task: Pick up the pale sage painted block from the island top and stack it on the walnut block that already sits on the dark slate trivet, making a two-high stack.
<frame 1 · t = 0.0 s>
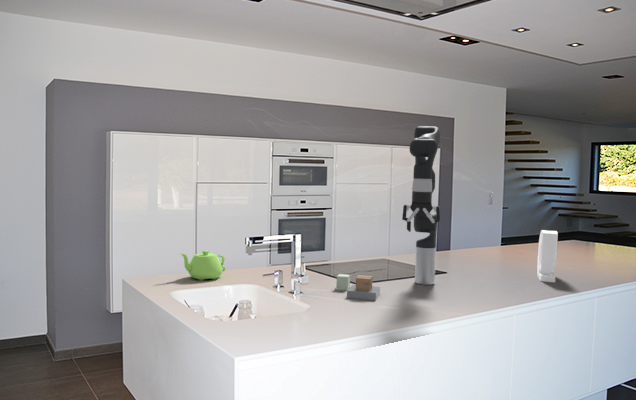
hand: (420, 232, 204), 29 cm above the counter, fingers open, 8 cm apart
walnut block: (363, 288, 221), point 3 cm above the counter, touching slate trivet
slate trivet: (363, 295, 221), on the counter
teapot: (202, 278, 247), on the counter
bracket: (545, 278, 269), on the counter
sage block: (343, 288, 233), on the counter
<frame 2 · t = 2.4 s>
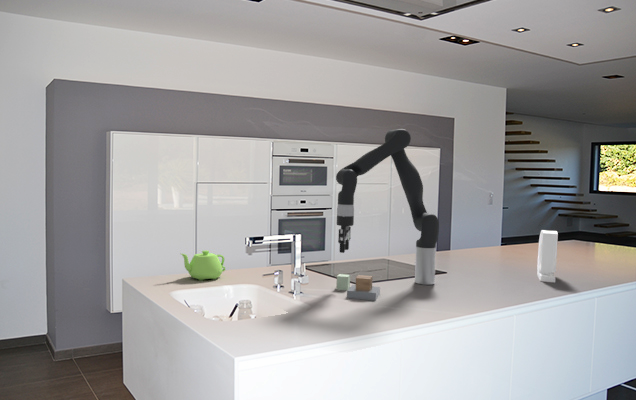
hand: (344, 251, 232), 17 cm above the counter, fingers open, 8 cm apart
nothing on the counter moved.
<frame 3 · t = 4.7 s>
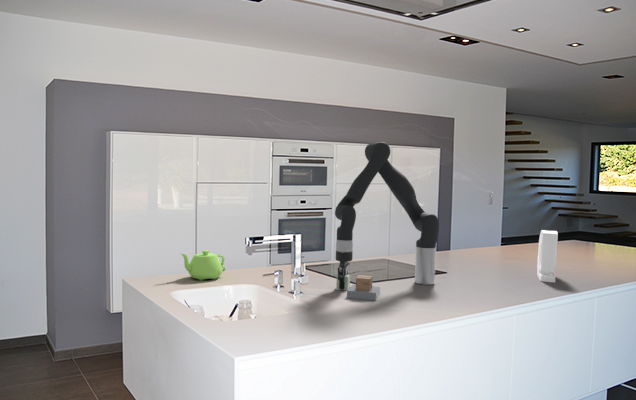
hand: (343, 287, 233), 0 cm above the counter, fingers closed on sage block, 5 cm apart
sage block: (343, 288, 233), on the counter, touching gripper
everything else where it was.
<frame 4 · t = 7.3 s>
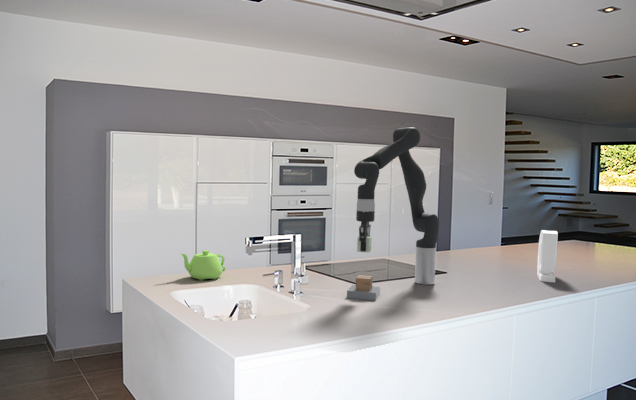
hand: (364, 250, 220), 19 cm above the counter, fingers closed on sage block, 5 cm apart
sage block: (364, 251, 220), point 19 cm above the counter, touching gripper
everything else where it was.
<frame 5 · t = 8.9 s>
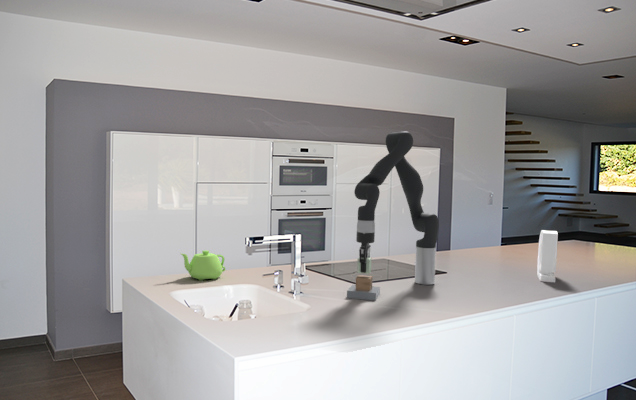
hand: (364, 271, 220), 11 cm above the counter, fingers closed on sage block, 5 cm apart
sage block: (364, 272, 220), point 10 cm above the counter, touching gripper
everything else where it was.
when the fingers open (10 cm above the counter, at t = 9.9 s): sage block drops 1 cm, resting on walnut block.
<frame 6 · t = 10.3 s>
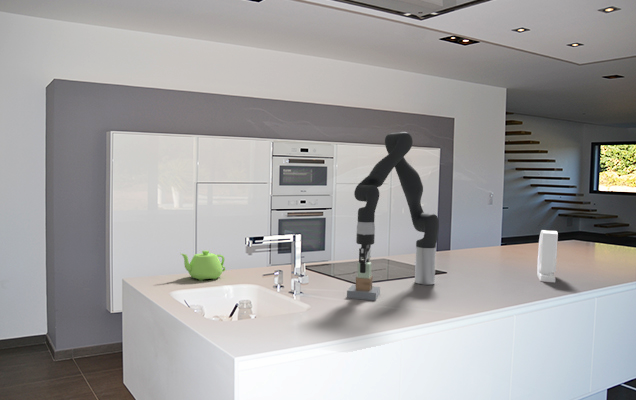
hand: (364, 271, 220), 11 cm above the counter, fingers open, 8 cm apart
walnut block: (363, 288, 221), point 3 cm above the counter, touching sage block, slate trivet
sage block: (364, 277, 220), point 8 cm above the counter, touching walnut block
everything else where it was.
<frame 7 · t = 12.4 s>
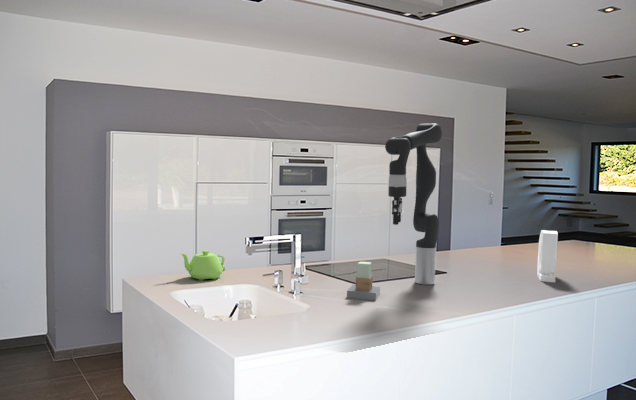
hand: (396, 223, 224), 31 cm above the counter, fingers open, 8 cm apart
nothing on the counter moved.
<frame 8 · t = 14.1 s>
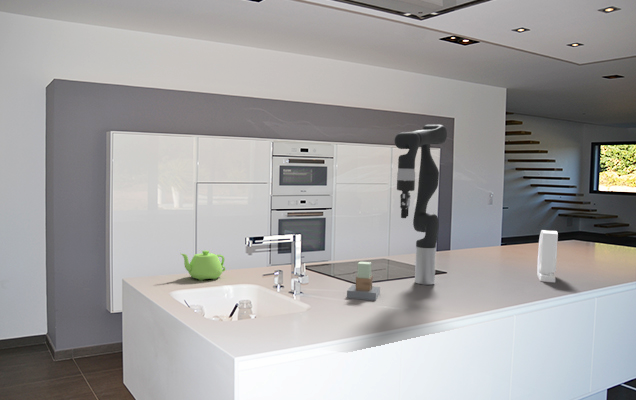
hand: (404, 217, 225), 33 cm above the counter, fingers open, 8 cm apart
nothing on the counter moved.
at the end: sage block 0.1 cm off-centre on the walnut block, point 5.0 cm above the walnut block's base; sage block tilted 0°; walnut block inside the target area on the slate trivet (0.0 cm from its centre), point 3.0 cm above the slate trivet's base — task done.
